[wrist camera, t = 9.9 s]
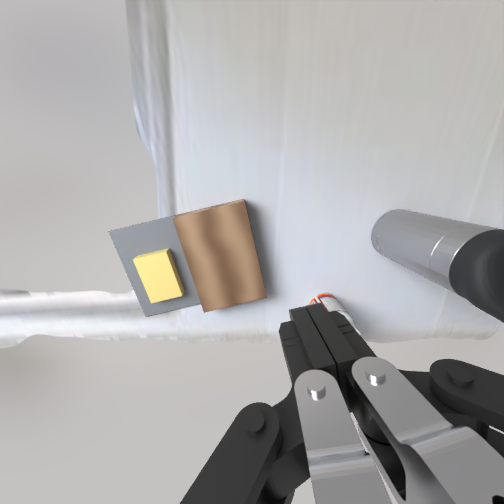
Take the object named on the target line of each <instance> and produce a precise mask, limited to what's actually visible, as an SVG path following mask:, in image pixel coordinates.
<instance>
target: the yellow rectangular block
mask: <svg viewBox="0 0 504 504" xmlns="http://www.w3.org/2000/svg"><path fill="white" fill-rule="evenodd" d="M133 261H134V264H135V266H136V268H137V271H138V273H139V275H140V278H141V280H142V283H143V285H144V287H145V290H146V292H147V294H148V297H149V299H150V302H151V303H155V302H159V301H163V300H167V299H172V298H176V297H180V296H183V293H184V288H183V285H182V283H181V280H180V277H179V274H178V272H177V269H176V266H175V263H174V260H173V258H172V255H171V252H170V249H169V248H168V249H164V250H160V251H156V252H152V253H147V254H143V255H139V256H137V257H135V258H134V259H133Z"/></svg>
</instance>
